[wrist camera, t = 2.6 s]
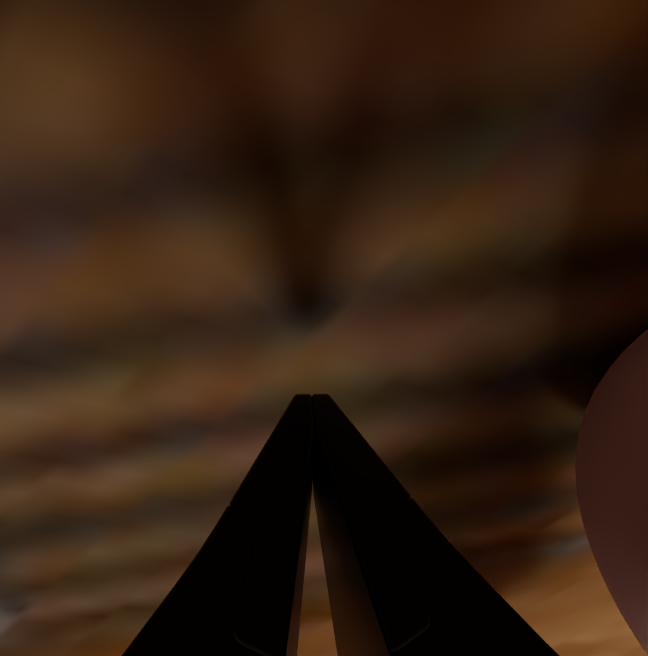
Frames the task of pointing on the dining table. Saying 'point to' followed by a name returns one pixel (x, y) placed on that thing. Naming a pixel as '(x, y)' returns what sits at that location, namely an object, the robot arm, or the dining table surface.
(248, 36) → the dining table surface
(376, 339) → the dining table surface
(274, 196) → the dining table surface
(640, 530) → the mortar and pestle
